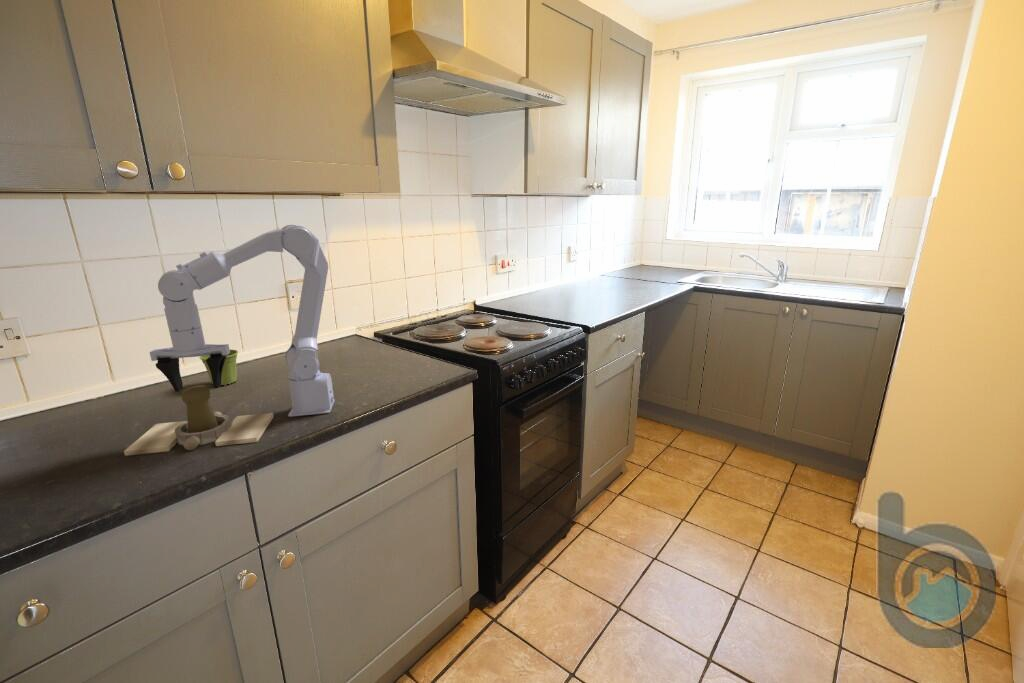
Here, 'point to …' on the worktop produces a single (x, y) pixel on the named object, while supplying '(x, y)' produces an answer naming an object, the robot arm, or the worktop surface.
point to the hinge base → (201, 434)
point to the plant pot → (225, 368)
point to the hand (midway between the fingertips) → (198, 388)
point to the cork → (199, 409)
